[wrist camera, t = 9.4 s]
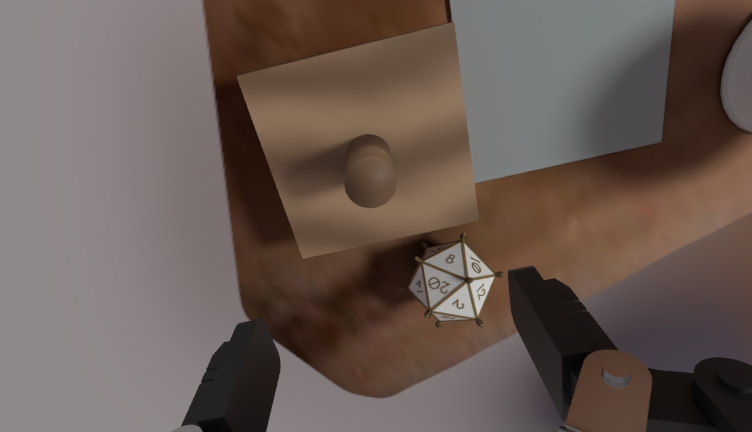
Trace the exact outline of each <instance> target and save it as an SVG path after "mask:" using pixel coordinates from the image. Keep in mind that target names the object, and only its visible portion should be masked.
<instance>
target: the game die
mask: <svg viewBox="0 0 752 432" xmlns="http://www.w3.org/2000/svg"><path fill="white" fill-rule="evenodd" d="M460 235H461V237H460V241H455V242H451V243H446V244H442V245H437V246H433V247H428V245H427V243H424V242H422V247H423V248H425V251H424V253H423V255H422V257H421V258H420V257H419V256H418V257H415V261H416V262H417V263H419V264H418V266H417V268H416V270H415V272H414V274H413V276H412V278H411V281H410V283H409V285H408V286H402V287H401V288H400V289H399V290H401V291H403V292H404V291H406V290H409V291H410V292H411V293H412V294H413V295H414V296H415V297H416V299H417V300H418V301H419V302H420V303H421V304H422V305H423V306H424V307H425V308H426V309H427V310H428V311H426V313H424V314H425V319H426V318H430V316H431V314H432V315H433V316H434V317H435V318H436V319H437V320H438V321H437V322H436V325H435V326H436V327H437V329H438V328H439V327H441V324H442V323H441V321H463V320H476V324H478V326H480V327H482V328H483V322H482V321H481V320H480V319H479V316H480V314H481V311H482V309H483V306H484V304H485V302H486V299H487V297H488V294H489V292H490V290H491V287H492V285H493V282H494V280H495V278H496V277H499V278H500V277H502V276H504V275H505V274H506V273H504V272H497V273H494V272H493V270H492V269H491V268H490V267H489V266H488V265H487V264H486V263H485V262H484V261H483V260H482V259H481V258H480V257H479V256H478V255H477V254H476V253H475V252H474V251H473V250H472V249H471V248H470V247H469V246H468V245H467V244H466V243H465V242H464V240H465V239H466V234H465V232H463V233H462V234H460Z"/></svg>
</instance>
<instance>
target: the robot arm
mask: <svg viewBox="0 0 752 432" xmlns="http://www.w3.org/2000/svg"><path fill="white" fill-rule="evenodd" d="M508 282H509V294H510V305H511V312H512V317H513V320H514V323H515V326H516V328H517V330H518V332H519V334H520V336H521V338H522V340H523V342H524V344H525V346H526V348H527V350H528V352H529V354H530V356H531V358H532V360H533V362H534V364H535V366H536V368H537V370H538V372H539V374H540V376H541V378H542V380H543V383H544V385H545V387H546V389H547V391H548V392H549V394H550V396H551V398H552V400H553V402H554V405H555V406H556V409H557V411H558V413H559V415H560V416H561V418H562V421H565V420H566V422H565V425H564V427H562V426H560V427H559V429H558V431H557V432H752V366H751V365H749V364H746V363H744V362H741V361H738V360H734V359H729V358H719V357H717V358H708V359H705V360H702V361H700V362H699V363H698V364H697V365H696V366H695V369H694V373H685V372H674V371H673V372H672V371H662V370H655V369H651V368H647V367H646V366H645V365H644V364H643V363H642V362H641V361H640V360H638V359H637V358H635V357H633V356H632V355H629V354H627V353H624V352H621V351H619V350H618V349H617V348H616V347H615V345H614V344H613V343H612V341H611V340H610V339H609V337H608V336H607V335H606V334H605V332H604V331H603V330H602V329H601V327H600V326H599V325H598V323H597V322H596V321H595V319H594V318H593V317H592V316H591V314H590V313H589V312H587V309H586V308H585V306H584V305H583V304H582V303H581V302H580V301H579V299H578V297H577V296H576V295H575V294H574V292H573V291H572V290H571V288H570V287H568V286H567V285H565V284H563V283H562V282H560V281H558V280H557V279H555V278H554V279H549V280H543V278H542V277H541V275H540V274H539V273H538V271H537V270H536V268H535V267H534V266H528V267H523V268H518V269H513V270H509V271H508ZM206 370H207V372H205V374H204V376H203V378H202V381H201V382H202V383H201V384H200V385H199V387H198V389H197V392H196V394H195V396H194V398H193V401H192V403H191V405H190V407H189V410H188V412H187V414H186V416H185V419H184V421H183V423H182V425H181V427H179V428H177V429H175V430H173V431H172V432H266V430H267V425H268V421H269V417H270V412H271V408H272V404H273V400H274V396H275V391H276V387H277V382H278V378H279V374H280V357H279V353H278V351H277V348H276V346H275V344H274V342H273V339H272V337H271V335H270V333H269V331H268V328H267V326H266V324H265V322H264V321H263V320H262V319H258V320H253V321H248V322H243V323H239V324H238V325H237V326H236V328H235V330H234V332H233V335H232V337H231V340H230V341H228V342H224V343H223V344H222V345H221V346H220V348H219V349H218V350H217V351H216V352H215V353H214V355H213V356H212V358H211V360H210V363H209V365H208V367H207V369H206Z"/></svg>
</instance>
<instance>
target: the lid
mask: <svg viewBox="0 0 752 432" xmlns="http://www.w3.org/2000/svg"><path fill="white" fill-rule="evenodd" d="M236 77H237V80H238V82H239V85H240V88H241V91H242V93H243V96H244V99H245V102H246V104H247V107H248V110H249V113H250V115H251V118H252V121H253V124H254V126H255V129H256V132H257V135H258V137H259V140H260V143H261V146H262V148H263V151H264V154H265V157H266V159H267V162H268V165H269V167H270V170H271V173H272V176H273V178H274V181H275V184H276V187H277V189H278V192H279V195H280V198H281V200H282V203H283V206H284V209H285V211H286V214H287V217H288V220H289V222H290V225H291V228H292V231H293V233H294V236H295V239H296V242H297V244H298V247H299V250H300V253H301V255H302V258H303V259H304V258H308V257H313V256H318V255H322V254H327V253H332V252H336V251H341V250H346V249H350V248H355V247H360V246H364V245H369V244H374V243H378V242H383V241H388V240H392V239H397V238H402V237H406V236H411V235H416V234H420V233H425V232H430V231H434V230H439V229H444V228H448V227H453V226H458V225H462V224H467V223H472V222H476V221H479V216H478V208H477V200H476V192H475V184H474V176H473V168H472V160H471V152H470V144H469V136H468V128H467V120H466V112H465V104H464V96H463V88H462V80H461V72H460V64H459V56H458V48H457V40H456V32H455V24H454V22H449V23H445V24H441V25H437V26H433V27H429V28H425V29H421V30H417V31H413V32H409V33H405V34H401V35H397V36H393V37H389V38H385V39H381V40H377V41H373V42H369V43H365V44H361V45H357V46H353V47H349V48H345V49H341V50H337V51H333V52H329V53H325V54H321V55H317V56H313V57H309V58H304V59H300V60H296V61H292V62H288V63H284V64H280V65H276V66H272V67H268V68H264V69H260V70H256V71H252V72H248V73H244V74H240V75H238V76H236Z"/></svg>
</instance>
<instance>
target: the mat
mask: <svg viewBox="0 0 752 432" xmlns="http://www.w3.org/2000/svg"><path fill="white" fill-rule="evenodd" d="M449 4H450V12H451V20H452V22H454V24H455V32H456V40H457V48H458V56H459V64H460V72H461V80H462V88H463V96H464V104H465V112H466V120H467V128H468V136H469V144H470V152H471V160H472V168H473V176H474V183H478V182H482V181H487V180H491V179H496V178H500V177H505V176H509V175H514V174H519V173H523V172H528V171H532V170H537V169H541V168H546V167H550V166H555V165H559V164H564V163H568V162H573V161H578V160H582V159H587V158H591V157H596V156H600V155H605V154H609V153H614V152H618V151H623V150H628V149H632V148H637V147H641V146H646V145H650V144H655V143H659V142H662V132H663V121H664V111H665V100H666V90H667V79H668V68H669V58H670V47H671V37H672V26H673V16H674V5H675V0H449Z"/></svg>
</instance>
